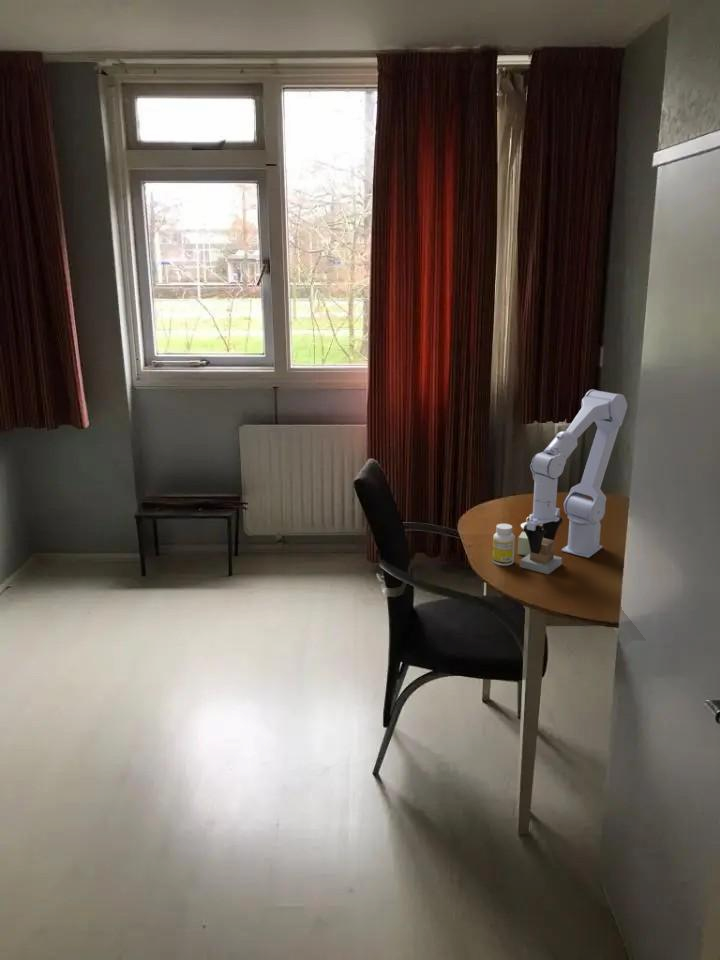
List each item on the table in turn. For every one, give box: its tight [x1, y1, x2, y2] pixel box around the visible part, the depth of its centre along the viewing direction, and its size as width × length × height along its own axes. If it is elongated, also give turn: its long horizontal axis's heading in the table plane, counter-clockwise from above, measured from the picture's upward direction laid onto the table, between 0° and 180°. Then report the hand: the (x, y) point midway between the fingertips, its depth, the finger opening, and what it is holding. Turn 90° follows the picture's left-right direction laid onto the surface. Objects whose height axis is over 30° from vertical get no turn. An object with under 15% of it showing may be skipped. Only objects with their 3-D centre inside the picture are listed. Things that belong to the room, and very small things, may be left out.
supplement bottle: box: [492, 523, 516, 566], centre depth 204 cm, size 6×6×10 cm
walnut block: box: [530, 537, 555, 564], centre depth 202 cm, size 4×4×5 cm
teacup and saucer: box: [520, 513, 543, 530], centre depth 230 cm, size 9×8×4 cm
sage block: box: [517, 531, 530, 556], centre depth 211 cm, size 4×4×5 cm
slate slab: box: [519, 554, 563, 575], centre depth 203 cm, size 8×8×2 cm
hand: (541, 548), depth 201 cm, fingers open, 7 cm apart
